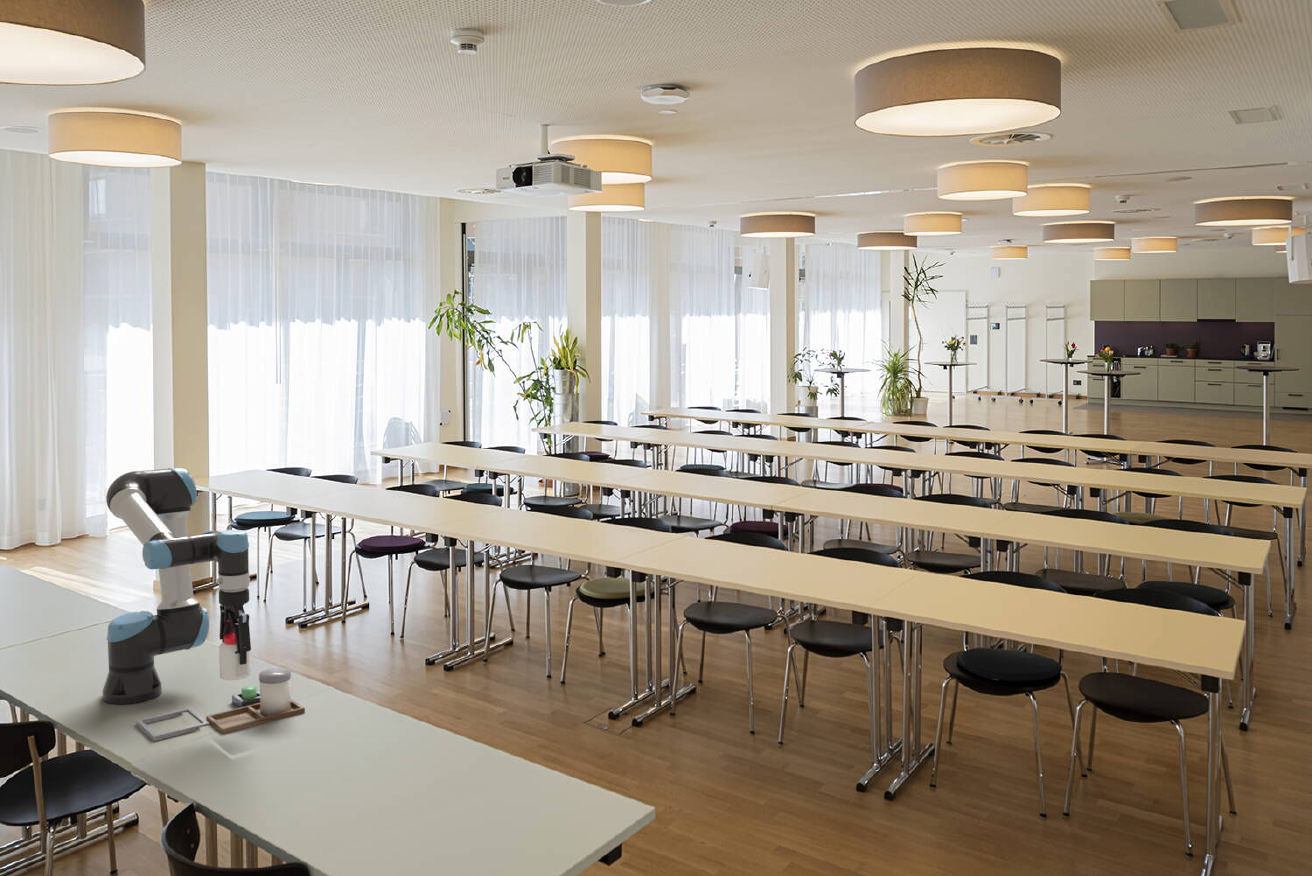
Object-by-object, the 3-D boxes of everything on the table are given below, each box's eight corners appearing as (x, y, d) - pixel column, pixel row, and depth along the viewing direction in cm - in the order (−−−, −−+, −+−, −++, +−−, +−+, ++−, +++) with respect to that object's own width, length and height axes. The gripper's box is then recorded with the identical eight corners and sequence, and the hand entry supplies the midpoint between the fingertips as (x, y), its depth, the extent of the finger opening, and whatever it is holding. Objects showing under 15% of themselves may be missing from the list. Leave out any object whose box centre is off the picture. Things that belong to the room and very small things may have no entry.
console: (232, 705, 283) (231, 694, 282) (256, 699, 287) (256, 689, 287) (242, 712, 278) (241, 702, 277) (266, 706, 282) (266, 696, 282)
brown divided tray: (206, 723, 270) (206, 715, 269) (286, 702, 285) (286, 696, 285) (223, 736, 262) (222, 729, 261) (304, 714, 277) (304, 708, 277)
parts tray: (136, 724, 267) (136, 720, 267) (190, 711, 277) (190, 707, 277) (154, 741, 257) (153, 736, 257) (209, 727, 267) (209, 722, 267)
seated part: (254, 710, 277) (254, 672, 276) (283, 703, 283) (282, 666, 282) (267, 719, 271) (266, 680, 270) (296, 711, 277) (295, 673, 276)
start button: (239, 701, 282) (239, 688, 282) (253, 698, 285) (253, 685, 285) (245, 705, 280) (244, 692, 279) (259, 702, 282) (259, 688, 282)
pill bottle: (239, 681, 263) (238, 641, 262) (213, 678, 265) (212, 638, 264) (256, 671, 271) (256, 632, 270) (231, 669, 272) (230, 630, 271)
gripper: (204, 583, 270) (206, 664, 273) (235, 599, 255) (236, 684, 258) (232, 578, 275) (234, 658, 278) (263, 594, 261) (265, 678, 263)
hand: (235, 671), depth 268 cm, fingers closed on pill bottle, 8 cm apart
